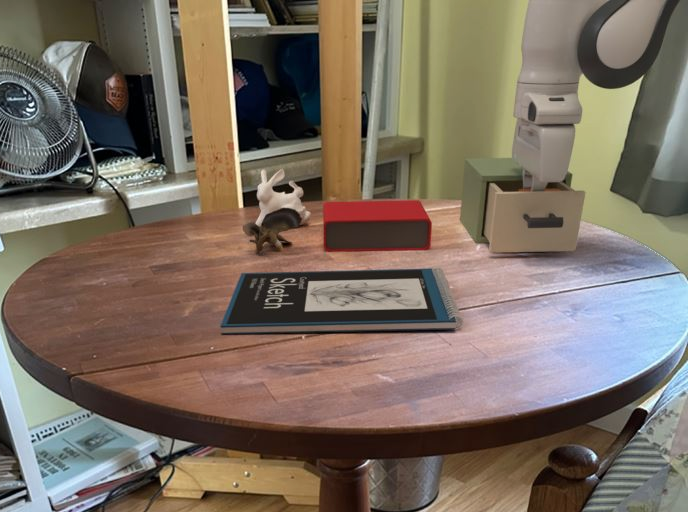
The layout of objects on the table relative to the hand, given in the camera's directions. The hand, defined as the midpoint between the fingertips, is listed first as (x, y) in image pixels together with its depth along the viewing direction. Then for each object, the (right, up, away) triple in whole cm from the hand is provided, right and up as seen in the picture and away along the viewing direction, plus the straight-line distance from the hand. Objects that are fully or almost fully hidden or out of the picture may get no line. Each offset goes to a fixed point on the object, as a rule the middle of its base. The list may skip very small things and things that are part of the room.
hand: (531, 201), depth 112 cm
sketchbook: (-31, -21, -16) cm, 41 cm away
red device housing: (-24, -2, +11) cm, 27 cm away
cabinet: (0, +1, +15) cm, 15 cm away
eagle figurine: (-42, -5, +7) cm, 43 cm away
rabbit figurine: (-42, +4, +21) cm, 47 cm away
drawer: (0, -5, +4) cm, 7 cm away
